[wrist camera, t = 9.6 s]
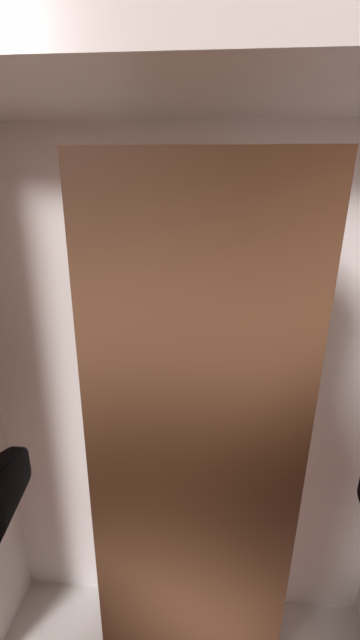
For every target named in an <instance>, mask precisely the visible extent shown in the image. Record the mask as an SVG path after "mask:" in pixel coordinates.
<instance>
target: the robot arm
mask: <svg viewBox="0 0 360 640" xmlns="http://www.w3.org/2000/svg"><path fill="white" fill-rule="evenodd" d="M30 478H31V464H30V458H29V452H28V449H27V448H26V447H22V446H11V447H9V448H7V449H5V450H3V451H2V452H0V543H1V541H2V539H3V537H4V535H5V533H6V531H7V528H8V526H9V524H10V522H11V520H12V518H13V516H14V513H15V511H16V509H17V507H18V505H19V503H20V500H21V498H22V496H23V494H24V492H25V490H26V487H27V485H28V483H29V481H30ZM357 496H358V500H359V502H360V478H359V483H358V487H357Z"/></svg>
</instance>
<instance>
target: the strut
mask: <svg viewBox="0 0 360 640" xmlns="http://www.w3.org/2000/svg"><path fill="white" fill-rule="evenodd" d="M57 147H58V158H59V169H60V179H61V190H62V201H63V212H64V223H65V234H66V244H67V255H68V266H69V277H70V288H71V299H72V310H73V320H74V331H75V342H76V353H77V364H78V375H79V385H80V396H81V407H82V418H83V429H84V440H85V450H86V461H87V472H88V483H89V494H90V505H91V515H92V526H93V537H94V548H95V559H96V570H97V580H98V591H99V602H100V613H101V624H102V635H103V640H279V636H280V630H281V624H282V617H283V611H284V605H285V599H286V592H287V586H288V580H289V574H290V568H291V561H292V555H293V549H294V543H295V536H296V530H297V524H298V518H299V511H300V505H301V499H302V493H303V487H304V480H305V474H306V468H307V462H308V455H309V449H310V443H311V437H312V430H313V424H314V418H315V412H316V406H317V399H318V393H319V387H320V381H321V374H322V368H323V362H324V356H325V349H326V343H327V337H328V331H329V324H330V318H331V312H332V306H333V300H334V293H335V287H336V281H337V275H338V268H339V262H340V256H341V250H342V243H343V237H344V231H345V225H346V219H347V212H348V206H349V200H350V194H351V187H352V181H353V175H354V169H355V162H356V156H357V150H358V144H181V145H57Z"/></svg>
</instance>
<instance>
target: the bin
mask: <svg viewBox="0 0 360 640" xmlns="http://www.w3.org/2000/svg"><path fill="white" fill-rule="evenodd" d="M181 144H358V150H357V156H356V162H355V169H354V175H353V181H352V187H351V194H350V200H349V206H348V212H347V219H346V225H345V231H344V237H343V243H342V250H341V256H340V262H339V268H338V275H337V281H336V287H335V293H334V300H333V306H332V312H331V318H330V324H329V331H328V337H327V343H326V349H325V356H324V362H323V368H322V374H321V381H320V387H319V393H318V399H317V406H316V412H315V418H314V424H313V430H312V437H311V443H310V449H309V455H308V462H307V468H306V474H305V480H304V487H303V493H302V499H301V505H300V511H299V518H298V524H297V530H296V536H295V543H294V549H293V555H292V561H291V568H290V574H289V580H288V586H287V592H286V599H285V605H284V611H283V617H282V624H281V630H280V636H279V640H360V502H359V500H358V496H357V487H358V483H359V478H360V0H0V452H2V451H3V450H5V449H7V448H9V447H11V446H22V447H26V448H27V449H28V452H29V458H30V464H31V478H30V481H29V483H28V485H27V487H26V490H25V492H24V494H23V496H22V498H21V500H20V503H19V505H18V507H17V509H16V511H15V513H14V516H13V518H12V520H11V522H10V524H9V526H8V528H7V531H6V533H5V535H4V537H3V539H2V541H1V543H0V640H103V635H102V624H101V613H100V602H99V591H98V580H97V570H96V559H95V548H94V537H93V526H92V515H91V505H90V494H89V483H88V472H87V461H86V450H85V440H84V429H83V418H82V407H81V396H80V385H79V375H78V364H77V353H76V342H75V331H74V320H73V310H72V299H71V288H70V277H69V266H68V255H67V244H66V234H65V223H64V212H63V201H62V190H61V179H60V169H59V158H58V147H57V145H181Z"/></svg>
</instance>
